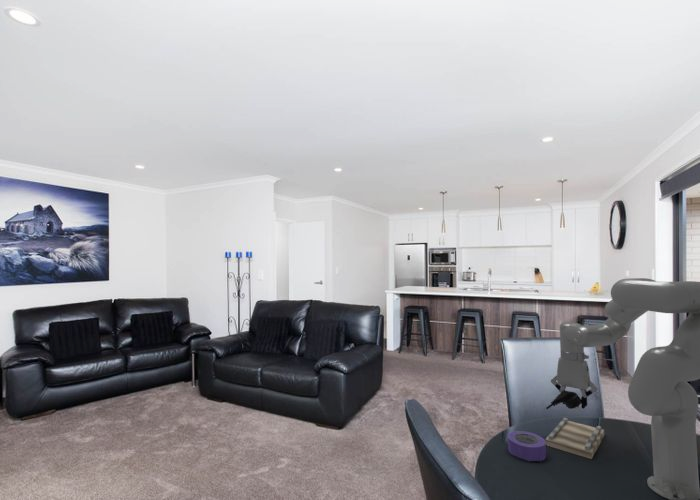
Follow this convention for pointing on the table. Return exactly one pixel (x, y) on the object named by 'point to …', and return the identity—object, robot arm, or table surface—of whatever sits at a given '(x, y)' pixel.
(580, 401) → the black tapered curved piece
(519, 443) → the tape roll
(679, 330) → the robot arm
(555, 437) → the board
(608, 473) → the table surface
